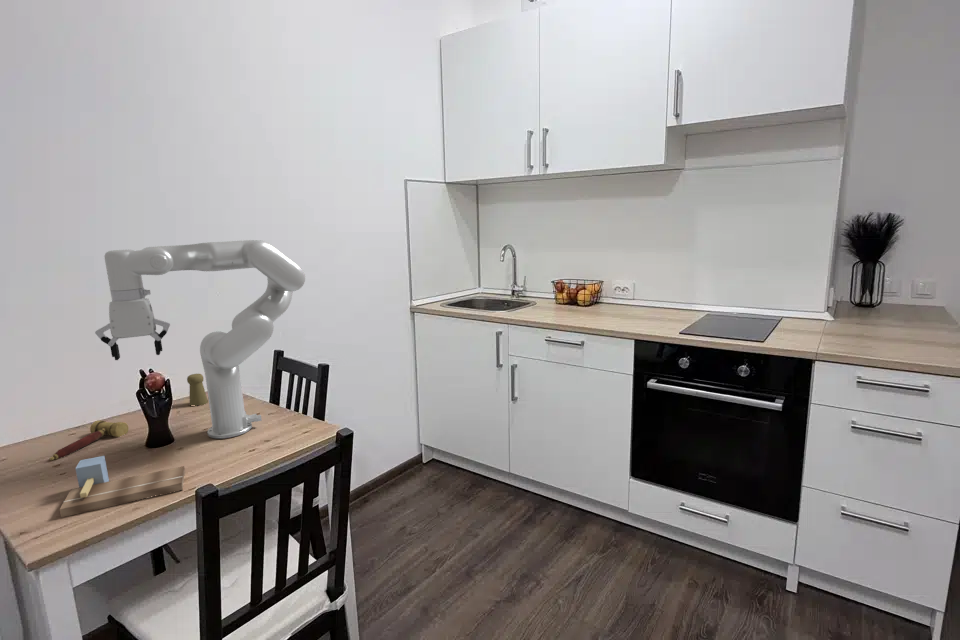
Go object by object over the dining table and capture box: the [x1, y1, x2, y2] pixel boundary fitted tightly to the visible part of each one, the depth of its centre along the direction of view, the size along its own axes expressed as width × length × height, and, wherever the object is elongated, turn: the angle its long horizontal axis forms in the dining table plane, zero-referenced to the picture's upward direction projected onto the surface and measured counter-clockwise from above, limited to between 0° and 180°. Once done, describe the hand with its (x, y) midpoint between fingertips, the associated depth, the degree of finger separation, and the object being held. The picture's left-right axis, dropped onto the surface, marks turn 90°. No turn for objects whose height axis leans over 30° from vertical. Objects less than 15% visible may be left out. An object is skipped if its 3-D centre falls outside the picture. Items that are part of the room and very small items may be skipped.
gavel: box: [49, 420, 130, 461], centre depth 155 cm, size 21×5×10 cm
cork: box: [186, 373, 209, 407], centre depth 188 cm, size 6×6×11 cm
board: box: [59, 465, 186, 518], centre depth 126 cm, size 24×10×2 cm, turn 116°
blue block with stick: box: [75, 455, 110, 498], centre depth 126 cm, size 5×13×7 cm, turn 26°
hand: (138, 356), depth 144 cm, fingers open, 9 cm apart
